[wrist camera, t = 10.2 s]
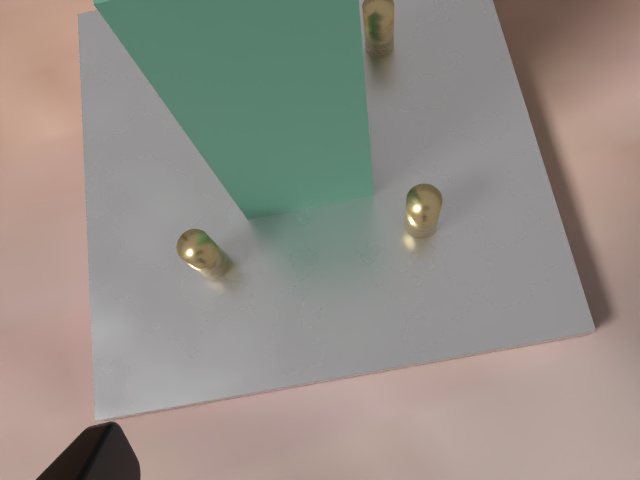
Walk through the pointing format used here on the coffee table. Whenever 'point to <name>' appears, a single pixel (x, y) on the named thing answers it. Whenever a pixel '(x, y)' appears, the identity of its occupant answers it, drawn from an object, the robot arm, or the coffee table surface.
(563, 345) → the coffee table surface
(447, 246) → the chassis
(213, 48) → the green block
